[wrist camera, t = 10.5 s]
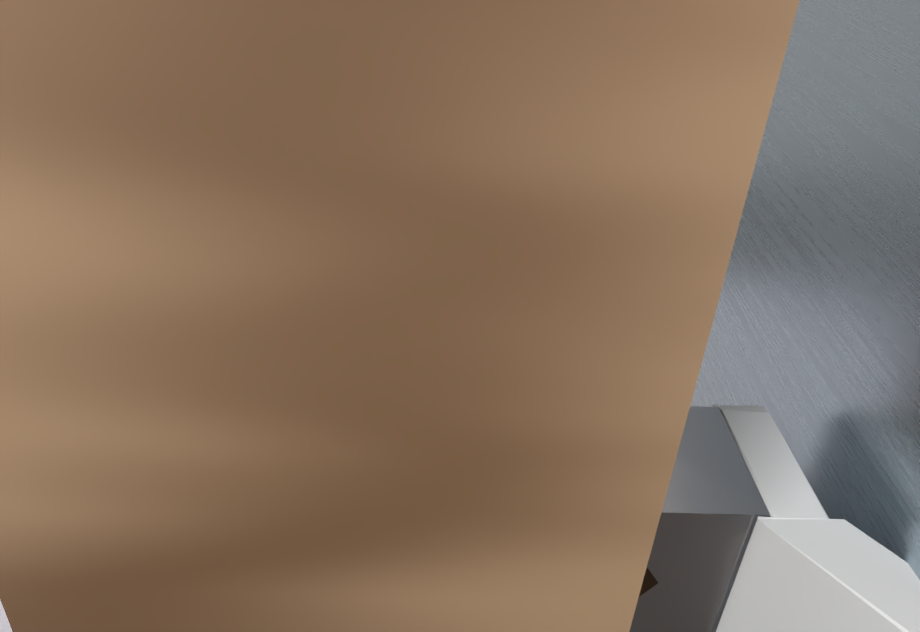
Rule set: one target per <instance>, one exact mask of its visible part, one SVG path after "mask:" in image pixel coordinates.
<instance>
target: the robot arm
mask: <svg viewBox="0 0 920 632" xmlns="http://www.w3.org/2000/svg"><path fill="white" fill-rule="evenodd" d="M629 632H920V580H919V579H918V577H917V576H916V574H915V573H914V571H913V570H912V568H911V567H910V566H909V564H908V563H907V562H906V561H904V560H903V559H901V558H900V557H898V556H897V555H895V554H894V553H893V552H891V551H890V550H888V549H887V548H885V547H884V546H882V545H881V544H879V543H878V542H877V541H875V540H874V539H872V538H871V537H869V536H868V535H866V534H865V533H864V532H862V531H861V530H859V529H858V528H856V527H855V526H853V525H852V524H850V523H849V522H848V521H846V520H845V519H829V517H828V515H827V514H826V512H825V510H824V508H823V506H822V505H821V503H820V501H819V499H818V498H817V496H816V494H815V492H814V491H813V489H812V487H811V485H810V484H809V482H808V480H807V478H806V476H805V475H804V473H803V471H802V469H801V468H800V466H799V464H798V462H797V461H796V459H795V457H794V455H793V454H792V452H791V450H790V448H789V447H788V445H787V443H786V441H785V439H784V438H783V436H782V434H781V432H780V431H779V429H778V427H777V425H776V424H775V422H774V420H773V418H772V417H771V415H770V413H769V411H767V410H766V409H764V408H763V407H762V406H760V405H713V406H712V407H709V406H690V408H689V412H688V416H687V420H686V423H685V427H684V431H683V434H682V438H681V442H680V446H679V449H678V453H677V457H676V460H675V464H674V468H673V471H672V475H671V479H670V483H669V486H668V490H667V494H666V497H665V501H664V505H663V509H662V512H661V516H660V520H659V523H658V527H657V531H656V535H655V538H654V542H653V546H652V549H651V553H650V557H649V560H648V564H647V568H646V572H645V575H644V579H643V583H642V586H641V590H640V594H639V598H638V601H637V605H636V609H635V612H634V616H633V620H632V624H631V627H630V631H629Z"/></svg>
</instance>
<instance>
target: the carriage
mask: <svg viewBox="0 0 920 632" xmlns="http://www.w3.org/2000/svg"><path fill="white" fill-rule="evenodd" d="M798 4H799V0H0V599H1V602H2V605H3V607H4V610H5V612H6V615H7V618H8V620H9V623H10V626H11V628H12V631H13V632H629V631H630V627H631V624H632V620H633V616H634V612H635V609H636V605H637V601H638V598H639V594H640V590H641V586H642V583H643V579H644V575H645V572H646V568H647V564H648V560H649V557H650V553H651V549H652V546H653V542H654V538H655V535H656V531H657V527H658V523H659V520H660V516H661V512H662V509H663V505H664V501H665V497H666V494H667V490H668V486H669V483H670V479H671V475H672V471H673V468H674V464H675V460H676V457H677V453H678V449H679V446H680V442H681V438H682V434H683V431H684V427H685V423H686V420H687V416H688V412H689V408H690V405H691V401H692V397H693V394H694V390H695V386H696V382H697V379H698V375H699V371H700V368H701V364H702V360H703V357H704V353H705V349H706V345H707V342H708V338H709V334H710V331H711V327H712V323H713V319H714V316H715V312H716V308H717V305H718V301H719V297H720V293H721V290H722V286H723V282H724V279H725V275H726V271H727V267H728V264H729V260H730V256H731V253H732V249H733V245H734V242H735V238H736V234H737V230H738V227H739V223H740V219H741V216H742V212H743V208H744V204H745V201H746V197H747V193H748V190H749V186H750V182H751V178H752V175H753V171H754V167H755V164H756V160H757V156H758V153H759V149H760V145H761V141H762V138H763V134H764V130H765V127H766V123H767V119H768V115H769V112H770V108H771V104H772V101H773V97H774V93H775V89H776V86H777V82H778V78H779V75H780V71H781V67H782V63H783V60H784V56H785V52H786V49H787V45H788V41H789V38H790V34H791V30H792V26H793V23H794V19H795V15H796V12H797V8H798Z"/></svg>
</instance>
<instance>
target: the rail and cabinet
mask: <svg viewBox="0 0 920 632" xmlns="http://www.w3.org/2000/svg"><path fill="white" fill-rule="evenodd" d="M713 405H760V406H762V407H763V408H764V409H766V410H767V411H769V413H770V415H771V417H772V418H773V420H774V422H775V424H776V425H777V427H778V429H779V431H780V432H781V434H782V436H783V438H784V439H785V441H786V443H787V445H788V447H789V448H790V450H791V452H792V454H793V455H794V457H795V459H796V461H797V462H798V464H799V466H800V468H801V469H802V471H803V473H804V475H805V476H806V478H807V480H808V482H809V484H810V485H811V487H812V489H813V491H814V492H815V494H816V496H817V498H818V499H819V501H820V503H821V505H822V506H823V508H824V510H825V512H826V514H827V515H828V517H829V519H845V520H846V521H848V522H849V523H850V524H852V525H853V526H855V527H856V528H858V529H859V530H861V531H862V532H864V533H865V534H866V535H868V536H869V537H871V538H872V539H874V540H875V541H877V542H878V543H879V544H881V545H882V546H884V547H885V548H887V549H888V550H890V551H891V552H893V553H894V554H895V555H897V556H898V557H900V558H901V559H903V560H904V561H906V562H907V563H908V564H909V566H910V567H911V568H912V570H913V571H914V573H915V574H916V576H917V577H918V579H919V580H920V0H799V4H798V8H797V12H796V15H795V19H794V23H793V26H792V30H791V34H790V38H789V41H788V45H787V49H786V52H785V56H784V60H783V63H782V67H781V71H780V75H779V78H778V82H777V86H776V89H775V93H774V97H773V101H772V104H771V108H770V112H769V115H768V119H767V123H766V127H765V130H764V134H763V138H762V141H761V145H760V149H759V153H758V156H757V160H756V164H755V167H754V171H753V175H752V178H751V182H750V186H749V190H748V193H747V197H746V201H745V204H744V208H743V212H742V216H741V219H740V223H739V227H738V230H737V234H736V238H735V242H734V245H733V249H732V253H731V256H730V260H729V264H728V267H727V271H726V275H725V279H724V282H723V286H722V290H721V293H720V297H719V301H718V305H717V308H716V312H715V316H714V319H713V323H712V327H711V331H710V334H709V338H708V342H707V345H706V349H705V353H704V357H703V360H702V364H701V368H700V371H699V375H698V379H697V382H696V386H695V390H694V394H693V397H692V401H691V405H690V406H709V407H712V406H713Z"/></svg>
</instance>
